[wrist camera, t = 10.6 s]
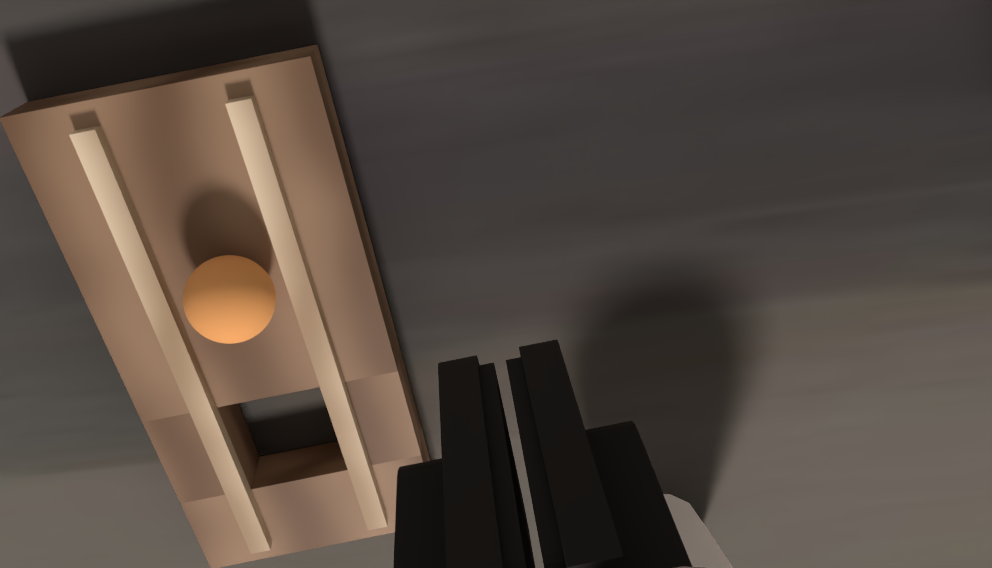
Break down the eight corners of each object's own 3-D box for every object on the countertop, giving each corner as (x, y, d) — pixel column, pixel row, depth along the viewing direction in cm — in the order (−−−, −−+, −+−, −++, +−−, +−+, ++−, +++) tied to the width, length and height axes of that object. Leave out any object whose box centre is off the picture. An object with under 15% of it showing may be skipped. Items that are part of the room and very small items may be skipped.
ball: (199, 245, 30) (196, 341, 30) (290, 253, 32) (289, 342, 32) (173, 257, 33) (170, 344, 33) (258, 263, 35) (257, 345, 35)
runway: (317, 44, 32) (308, 59, 30) (438, 490, 43) (440, 531, 41) (27, 101, 32) (-9, 122, 30) (221, 533, 43) (208, 577, 41)
